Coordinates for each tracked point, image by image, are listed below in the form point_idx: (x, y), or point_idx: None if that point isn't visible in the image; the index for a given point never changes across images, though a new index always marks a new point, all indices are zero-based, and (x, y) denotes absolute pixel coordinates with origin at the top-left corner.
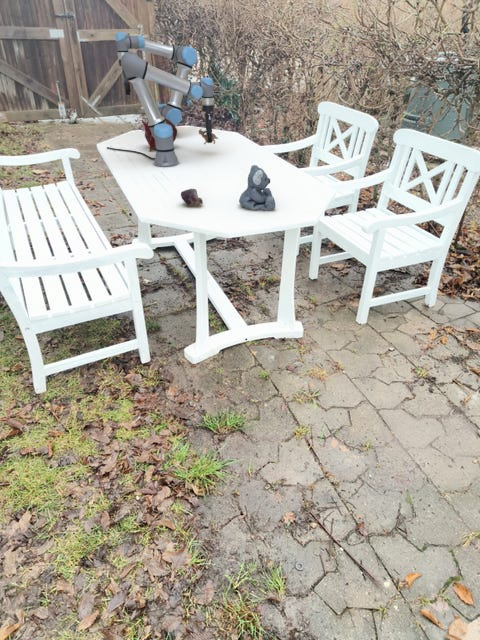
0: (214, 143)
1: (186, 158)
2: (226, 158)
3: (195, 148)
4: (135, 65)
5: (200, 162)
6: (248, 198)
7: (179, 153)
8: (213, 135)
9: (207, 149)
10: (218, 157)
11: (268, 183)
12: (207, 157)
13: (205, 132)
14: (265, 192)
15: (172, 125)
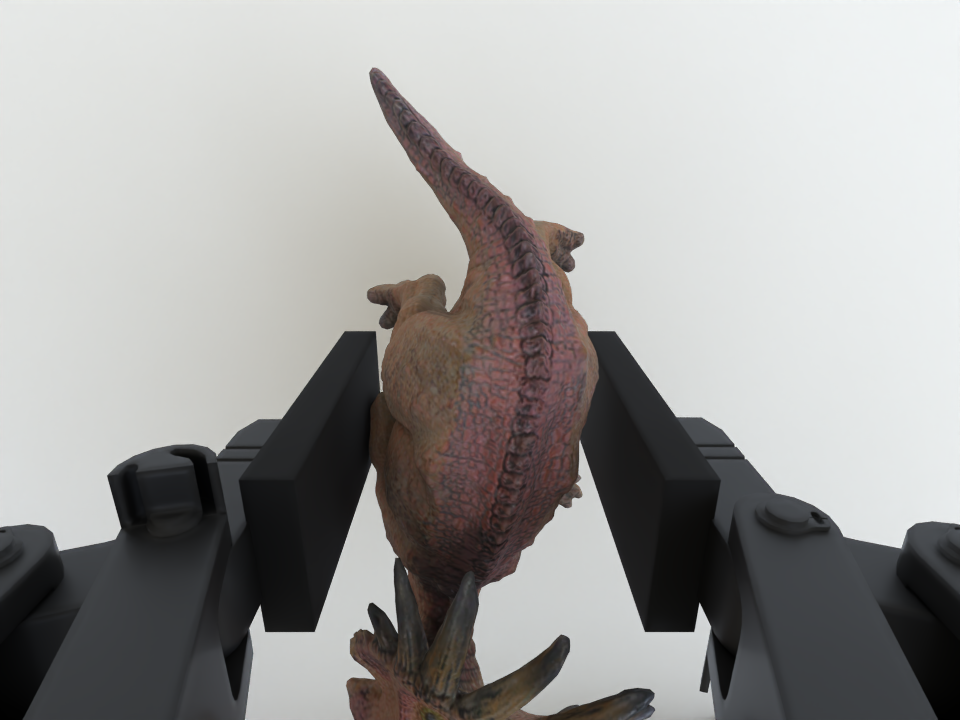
0: (575, 247)
1: (596, 621)
2: (844, 10)
3: (33, 463)
4: None
5: (875, 485)
6: None
7: (320, 672)
8: (576, 326)
9: (98, 282)
10: (709, 166)
11: None
12: (641, 355)
13: (385, 634)
14: None
15: None
